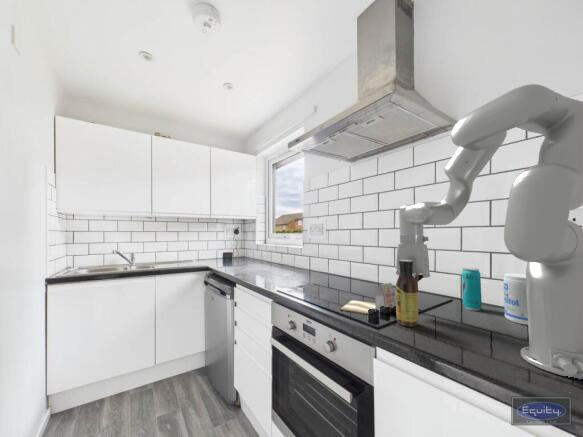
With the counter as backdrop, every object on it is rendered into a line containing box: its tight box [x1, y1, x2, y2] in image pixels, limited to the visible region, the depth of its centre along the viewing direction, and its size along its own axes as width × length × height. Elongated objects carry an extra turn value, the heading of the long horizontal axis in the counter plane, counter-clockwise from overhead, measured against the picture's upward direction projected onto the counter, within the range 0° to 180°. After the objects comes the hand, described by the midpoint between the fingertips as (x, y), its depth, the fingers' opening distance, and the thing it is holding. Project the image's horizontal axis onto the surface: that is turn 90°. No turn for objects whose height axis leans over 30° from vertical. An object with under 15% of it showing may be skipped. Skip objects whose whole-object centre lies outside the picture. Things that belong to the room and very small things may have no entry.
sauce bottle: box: [395, 260, 419, 328], centre depth 79 cm, size 7×6×20 cm
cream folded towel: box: [339, 299, 376, 315], centre depth 96 cm, size 14×11×1 cm
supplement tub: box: [503, 272, 528, 326], centre depth 81 cm, size 10×10×15 cm
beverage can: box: [461, 267, 483, 312], centre depth 95 cm, size 6×6×15 cm
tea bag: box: [374, 282, 396, 310], centre depth 92 cm, size 4×7×10 cm, turn 124°
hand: (413, 293), depth 87 cm, fingers closed
